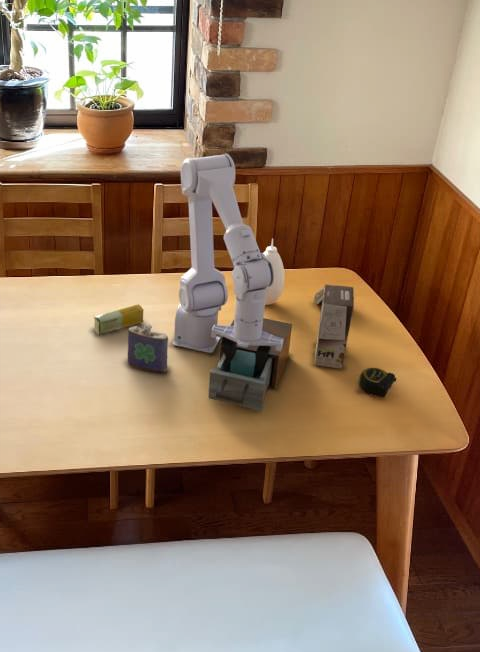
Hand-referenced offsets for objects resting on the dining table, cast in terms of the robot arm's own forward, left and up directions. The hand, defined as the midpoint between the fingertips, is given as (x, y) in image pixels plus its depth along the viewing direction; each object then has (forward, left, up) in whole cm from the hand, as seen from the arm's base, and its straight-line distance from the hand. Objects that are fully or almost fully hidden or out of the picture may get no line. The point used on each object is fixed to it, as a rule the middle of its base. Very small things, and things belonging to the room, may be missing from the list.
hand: (243, 371), depth 166 cm
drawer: (0, -3, -4) cm, 5 cm away
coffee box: (+15, +20, -6) cm, 26 cm away
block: (0, 0, -1) cm, 1 cm away
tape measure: (+27, +11, -6) cm, 30 cm away
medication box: (-34, +14, -6) cm, 37 cm away
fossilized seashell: (+12, +42, -6) cm, 44 cm away
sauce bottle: (-4, +38, -6) cm, 39 cm away
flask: (-22, +1, -6) cm, 23 cm away
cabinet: (0, +10, -5) cm, 12 cm away
